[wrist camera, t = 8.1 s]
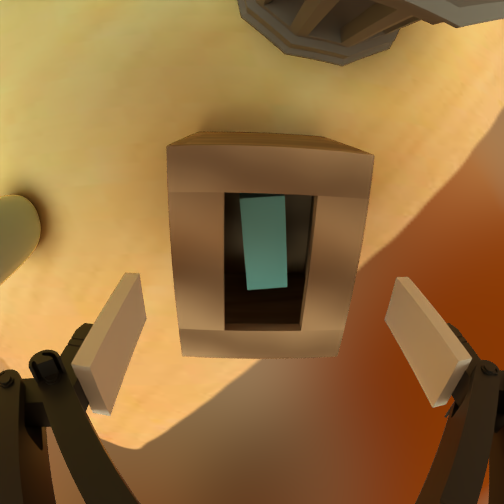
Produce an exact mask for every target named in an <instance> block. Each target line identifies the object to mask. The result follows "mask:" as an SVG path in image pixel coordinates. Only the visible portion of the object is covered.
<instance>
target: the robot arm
mask: <svg viewBox="0 0 504 504" xmlns="http://www.w3.org/2000/svg"><path fill="white" fill-rule="evenodd" d="M146 319H147V318H146V313H145V307H144V301H143V294H142V288H141V281H140V274H139V273H125V274H124V276H123V277H122V279H121V280H120V282H119V283H118V285H117V287H116V288H115V290H114V291H113V293H112V295H111V296H110V298H109V299H108V301H107V303H106V304H105V306H104V308H103V309H102V311H101V312H100V314H99V316H98V317H97V319H96V321H95V323H94V324H87V323H84V324H83V325H82V326H81V327H79V328H78V329H77V330H76V331H75V333H74V334H73V336H72V339H70V341H69V343H68V346H66V347H65V349H64V351H63V352H62V354H61V356H59V354H58V353H57V352H55V351H53V350H43V351H40V352H38V353H36V354H35V355H34V356H33V357H32V358H31V359H30V361H29V369H30V371H31V373H32V375H33V377H34V378H29V379H22V378H21V376H20V375H19V373H18V372H17V371H15V370H5V371H2V372H1V373H0V504H56V501H55V496H54V490H53V484H52V478H51V471H50V463H49V455H48V446H47V434H46V427H52V430H53V433H54V435H55V438H56V441H57V443H58V445H59V448H60V450H61V453H62V455H63V457H64V460H65V462H66V464H67V466H68V468H69V470H70V473H71V475H72V477H73V479H74V481H75V483H76V485H77V487H78V489H79V491H80V493H81V495H82V497H83V499H84V501H85V503H86V504H140V502H139V501H138V500H137V498H136V497H135V496H134V494H133V493H132V491H131V490H130V488H129V486H128V485H127V483H126V482H125V480H124V479H123V477H122V476H121V474H120V473H119V471H118V469H117V468H116V466H115V464H114V463H113V461H112V459H111V458H110V456H109V454H108V452H107V451H106V449H105V447H104V445H103V444H102V442H101V440H100V438H99V436H98V434H97V433H96V431H95V429H94V427H93V425H92V423H91V421H90V419H89V417H88V415H87V413H86V410H87V407H88V405H90V407H91V409H92V411H93V413H97V414H103V415H108V416H110V415H111V412H112V409H113V406H114V404H115V401H116V398H117V395H118V392H119V389H120V387H121V384H122V381H123V378H124V376H125V373H126V370H127V367H128V365H129V362H130V359H131V357H132V354H133V352H134V349H135V346H136V344H137V341H138V339H139V336H140V334H141V331H142V329H143V326H144V324H145V321H146ZM385 321H386V323H387V325H388V327H389V328H390V330H391V332H392V334H393V335H394V337H395V339H396V341H397V342H398V344H399V346H400V348H401V349H402V351H403V353H404V355H405V357H406V358H407V360H408V362H409V364H410V366H411V367H412V369H413V371H414V373H415V375H416V377H417V379H418V380H419V382H420V384H421V386H422V388H423V390H424V392H425V394H426V396H427V398H428V400H429V402H430V404H431V406H432V407H436V406H441V405H445V404H446V403H447V401H448V400H449V398H450V397H451V395H452V396H453V398H454V400H455V401H454V403H453V404H452V406H451V407H450V409H449V410H448V412H447V413H446V415H445V417H447V416H448V415H449V417H448V420H447V423H446V427H445V430H444V433H443V436H442V439H441V442H440V444H439V447H438V450H437V453H436V455H435V458H434V461H433V463H432V466H431V468H430V471H429V473H428V476H427V478H426V481H425V483H424V485H423V488H422V490H421V492H420V494H419V496H418V499H417V501H416V503H415V504H477V501H478V498H479V495H480V491H481V488H482V484H483V480H484V476H485V472H486V468H487V464H488V459H489V504H504V371H501V370H499V369H498V367H497V366H496V365H495V364H494V363H492V362H490V361H487V360H481V359H480V358H479V357H478V356H477V354H476V353H475V351H474V350H473V349H472V347H471V346H470V345H469V343H467V341H466V339H465V338H464V337H463V336H462V334H461V333H460V332H459V330H458V329H457V328H455V327H454V326H453V325H451V324H450V323H445V321H444V320H443V319H442V317H441V316H440V315H439V314H438V312H437V311H436V310H435V309H434V307H433V306H432V305H431V304H430V302H429V301H428V300H427V299H426V298H425V296H424V295H423V294H422V293H421V292H420V290H419V289H418V288H417V287H416V286H415V284H414V283H413V282H412V281H411V280H410V278H409V277H397V278H396V281H395V285H394V288H393V292H392V296H391V299H390V303H389V307H388V310H387V313H386V317H385Z"/></svg>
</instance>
